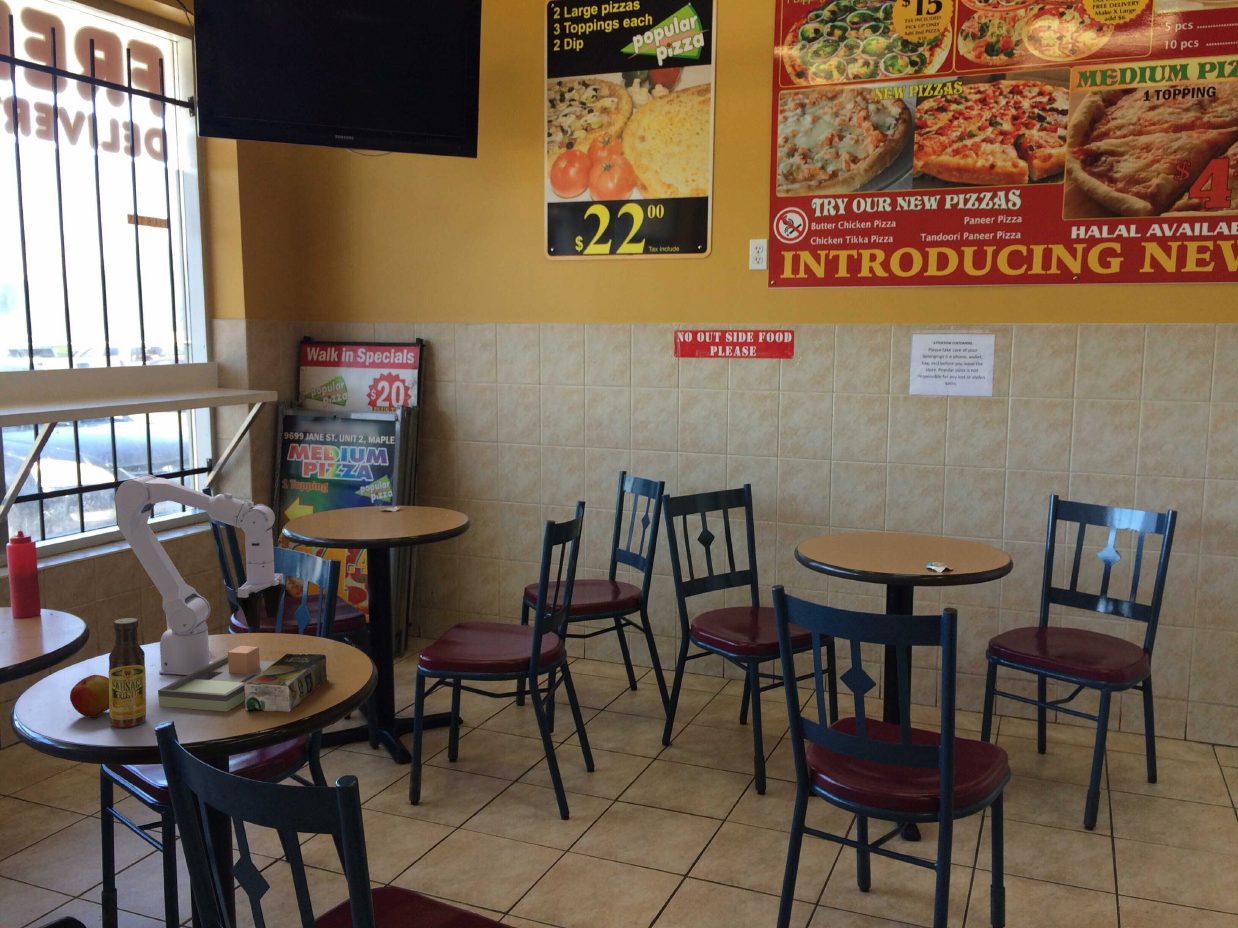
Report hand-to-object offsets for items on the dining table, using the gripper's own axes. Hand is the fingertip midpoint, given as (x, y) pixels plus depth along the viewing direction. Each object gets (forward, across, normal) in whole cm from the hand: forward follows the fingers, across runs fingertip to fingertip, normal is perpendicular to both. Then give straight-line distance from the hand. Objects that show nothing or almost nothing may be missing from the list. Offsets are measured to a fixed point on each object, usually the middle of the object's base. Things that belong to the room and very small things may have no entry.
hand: (262, 621), depth 217 cm
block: (+8, -8, 0) cm, 11 cm away
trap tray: (+10, -14, 0) cm, 17 cm away
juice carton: (+11, -14, -14) cm, 23 cm away
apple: (+11, -32, +16) cm, 38 cm away
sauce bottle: (+11, -34, +7) cm, 37 cm away
